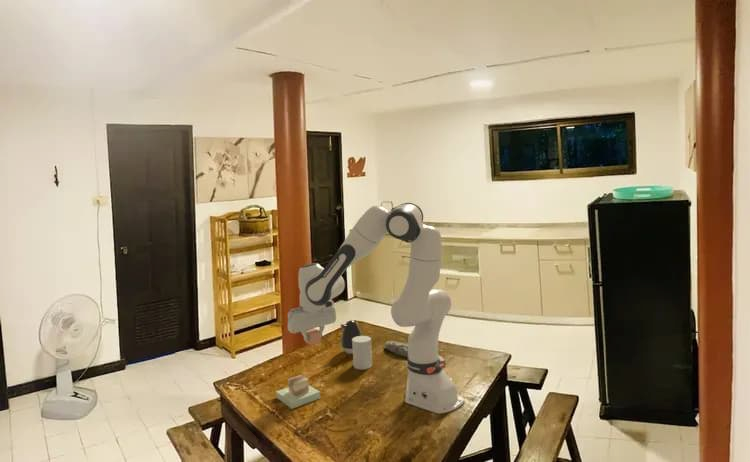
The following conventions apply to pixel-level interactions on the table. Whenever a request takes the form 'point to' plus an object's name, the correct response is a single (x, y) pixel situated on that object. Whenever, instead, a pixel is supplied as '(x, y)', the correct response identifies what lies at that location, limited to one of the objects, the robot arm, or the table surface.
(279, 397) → the sage base
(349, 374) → the table surface
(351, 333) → the pump dispenser
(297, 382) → the beech block
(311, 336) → the terracotta block
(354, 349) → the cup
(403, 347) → the elongated rock
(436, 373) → the robot arm
